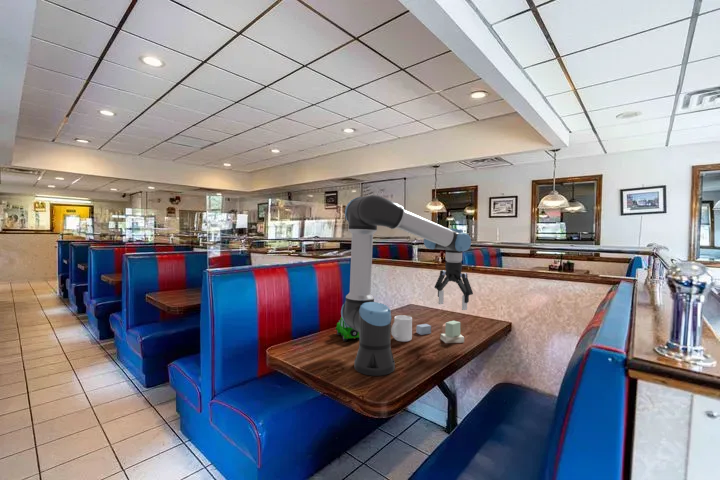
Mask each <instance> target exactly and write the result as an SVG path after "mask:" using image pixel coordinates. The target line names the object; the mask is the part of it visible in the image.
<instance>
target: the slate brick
mask: <svg viewBox="0 0 720 480" xmlns="http://www.w3.org/2000/svg"><path fill="white" fill-rule="evenodd" d="M415 329H416V330H415V331H416V334H418V335H420V336H423V335H428V334H429V335H430V334H432V325H430V324H428V323H422V324H416V328H415Z"/></svg>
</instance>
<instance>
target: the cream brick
mask: <svg viewBox="0 0 720 480" xmlns="http://www.w3.org/2000/svg"><path fill="white" fill-rule="evenodd" d="M440 340H441V341H442V342H443V343H445V344H461V343H463V344H464V343H465V336H463V335H462V334H461V333H460V335H459V336H455V337H449V336H446V335H445V334H443V333H440Z"/></svg>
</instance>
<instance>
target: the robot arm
mask: <svg viewBox="0 0 720 480" xmlns="http://www.w3.org/2000/svg"><path fill="white" fill-rule="evenodd" d="M344 216H345V217H344V218H345V220H346V221H347V222H348V225H347V226H348V227H347V228H348V229H347V230H348V231H349V232H350V233H351V249H350V252H351V253H350V270H349V271H350V275H349V292H348V294H346V295H345V301H344V303H343V304H342V306H341V310H340V315H341V317H342V319H343V321H344V322H345V323H346V324H347V325H348V326H349V327H350V328H352V329H354V330H356V331H357V332H359V340H358V341H359V344H358V349H357V352H356V356H355V359H354V363H353V364H354V369H355V371H356V372H358V373H360V374H363V375H365V376H374V377H375V376H378V377H379V376H386V375H389V374H391V373H393V372H394V371H395V370H396V368H395V367H396V366H395V365H396V362H395V359H394V355H393V352H392V347H391V340H392V339H391V336H392V334H391V328H392V312H391V308H390V307H389V306H388V305H386V304H384V303H382V302H380V303H379V302H377V301H376V302H375V297H374V296H373V294H372V291H371V290H372V269H373V267H372V265H373V247H374V245H373V244H374V243H373V241H374V235H375V233H376V232H377V231H378V227H379V226H380V227H386V228H389V229H391V230H394V229H398V230H402V231H403V232H407V233H408V234H411V235H414V236H417V237H420V238H422V239H423V244H424V247H425V248H426V249H427V250H428V249H429V250H443V251H444V250H445V270H444V269H443V270H440V271H439V275H438V278H437V281H436V283H435V284H434V289H436V290H437V298H438V302H437V303H438V305H444V296H445V295H444V294H445V291H444V288H445V287H446V286H447V285H448V283H449V282H453V283H456V285H458V287H459V289H460V290H461V293H462V297H461V299H462V300H461V310H462V311H466V310H468V303H469V301H470V300H469V299H470V296H471V295H472V296H473V295H474V293H473V289H472V286H471V283H470V281H469V278H468V273H467V272H466V273H465V272H464V273H462V269H463V262H462V261H463V252H466V251H468V250H469V249H470V248H471V245H472V239H471V236H470V235H469V234H468V233H464V231H463V229H462V228H449V227H445V226H443V225H441V224H438V223H436V222H434V221H431V220H429V219H426V218H424V217H422V216H420V215H417V214H416V213H413V212H411V211H408V210H406V209H404V206H403V205H401V204H400V203H397V202H394V201H392V200H390V199H388V198H385V197H383V196H380V195H378V194H377V195H376V194H375V195H374V194H373V195H372V194H371V195H366V196H358V197H355V198H353V199H352V200H350V201H349V202H348V203H347V204H346V207H345V210H344Z"/></svg>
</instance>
